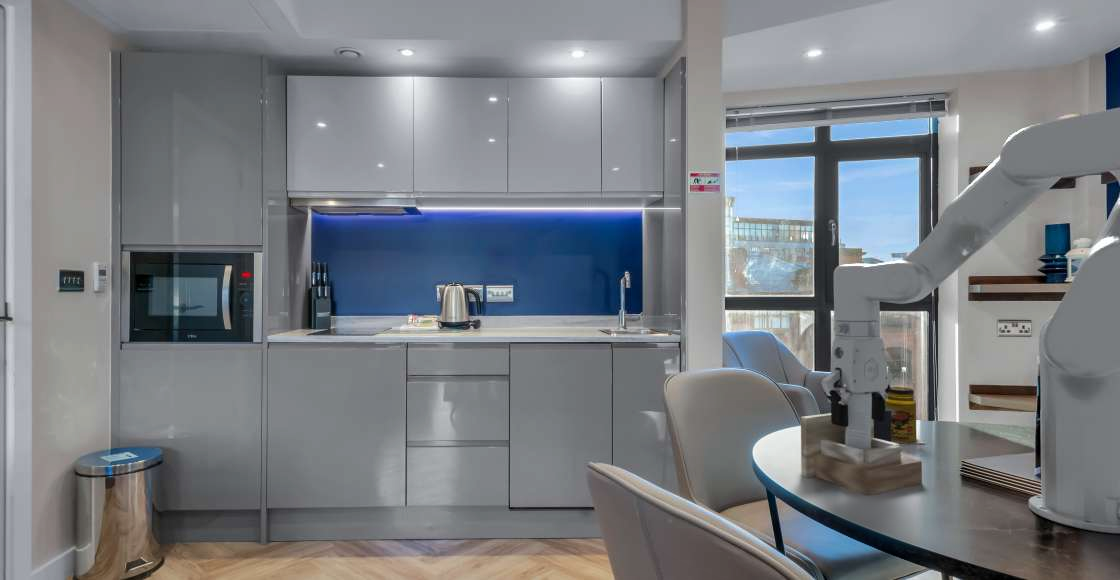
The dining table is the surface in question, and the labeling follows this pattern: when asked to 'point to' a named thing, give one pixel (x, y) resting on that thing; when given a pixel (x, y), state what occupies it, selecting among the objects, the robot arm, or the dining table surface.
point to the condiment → (902, 415)
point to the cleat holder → (854, 459)
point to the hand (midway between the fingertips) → (858, 422)
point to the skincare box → (859, 421)
